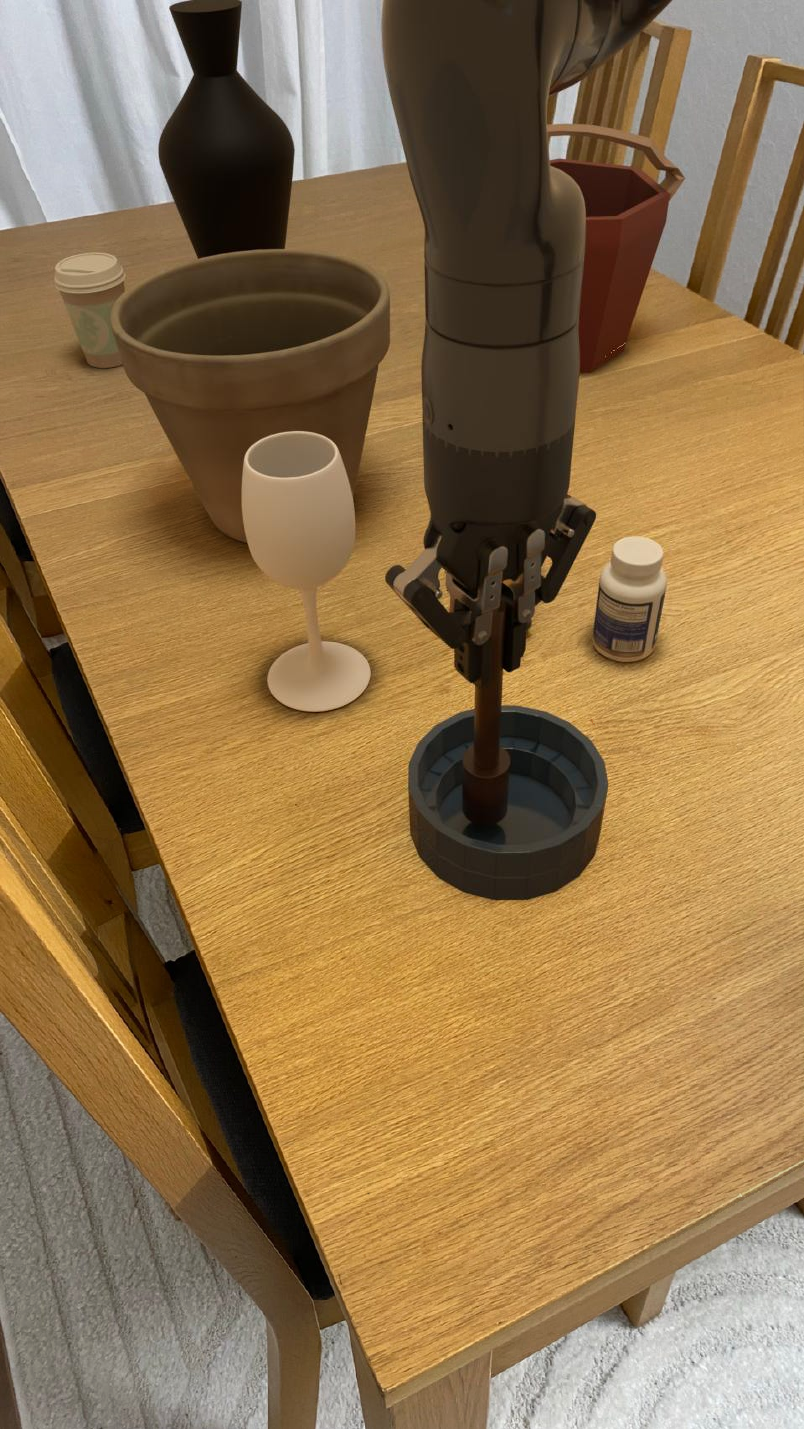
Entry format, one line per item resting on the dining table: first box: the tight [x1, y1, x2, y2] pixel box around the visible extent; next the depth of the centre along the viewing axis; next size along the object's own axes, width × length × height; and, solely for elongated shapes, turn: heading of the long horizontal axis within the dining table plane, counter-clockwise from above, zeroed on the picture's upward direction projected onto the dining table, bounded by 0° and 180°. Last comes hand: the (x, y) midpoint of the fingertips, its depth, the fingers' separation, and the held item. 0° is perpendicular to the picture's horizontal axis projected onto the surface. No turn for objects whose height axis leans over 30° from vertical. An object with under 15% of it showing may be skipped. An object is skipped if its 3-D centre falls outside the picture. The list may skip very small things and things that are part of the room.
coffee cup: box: [53, 252, 126, 369], centre depth 125 cm, size 8×9×12 cm
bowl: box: [407, 704, 609, 901], centre depth 69 cm, size 13×13×6 cm
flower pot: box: [110, 248, 391, 544], centre depth 95 cm, size 25×25×22 cm
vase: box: [157, 0, 296, 259], centre depth 127 cm, size 17×17×35 cm
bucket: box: [547, 123, 686, 374], centre depth 118 cm, size 24×22×25 cm
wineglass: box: [242, 431, 372, 713], centre depth 76 cm, size 9×9×21 cm
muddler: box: [462, 599, 510, 826], centre depth 64 cm, size 3×3×18 cm
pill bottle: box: [592, 535, 668, 663], centre depth 82 cm, size 5×5×10 cm
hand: (490, 670), depth 61 cm, fingers closed on muddler
